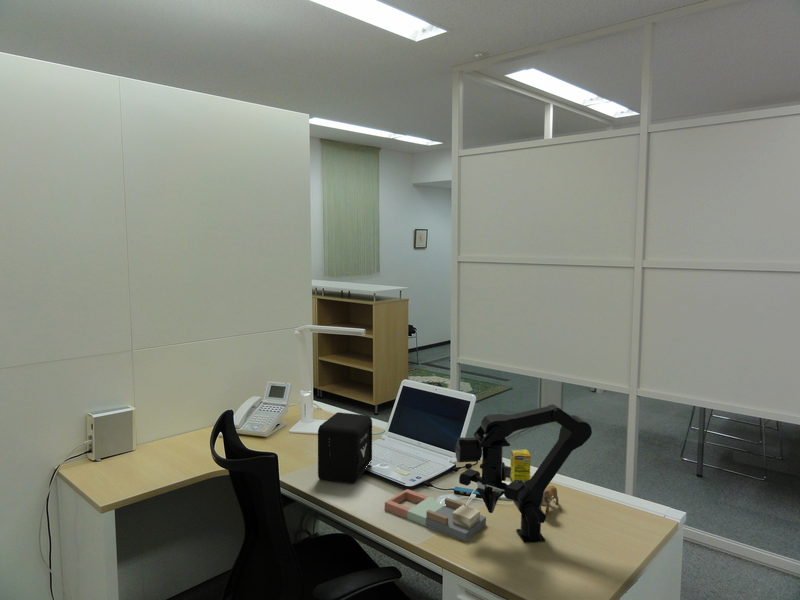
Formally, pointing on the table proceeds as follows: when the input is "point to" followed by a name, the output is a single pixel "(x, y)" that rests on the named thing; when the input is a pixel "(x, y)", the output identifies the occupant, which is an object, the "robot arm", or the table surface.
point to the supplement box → (520, 465)
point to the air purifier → (344, 447)
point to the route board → (433, 514)
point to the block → (466, 516)
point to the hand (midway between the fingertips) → (491, 512)
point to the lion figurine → (549, 497)
